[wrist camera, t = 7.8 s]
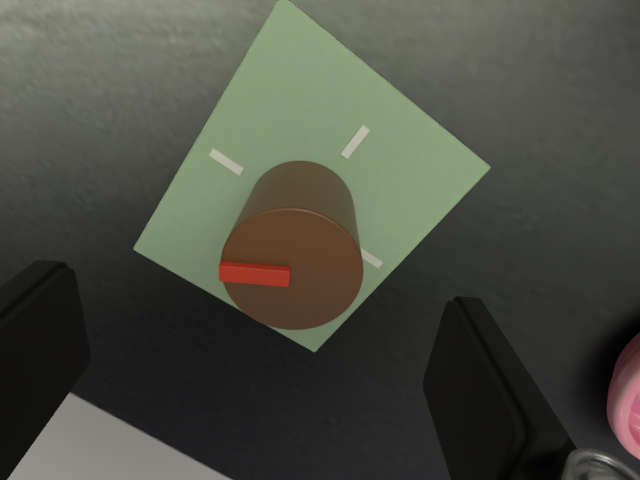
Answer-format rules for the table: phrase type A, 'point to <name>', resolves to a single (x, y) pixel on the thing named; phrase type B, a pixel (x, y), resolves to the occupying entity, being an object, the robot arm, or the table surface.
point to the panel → (310, 158)
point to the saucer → (626, 398)
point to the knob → (294, 249)
